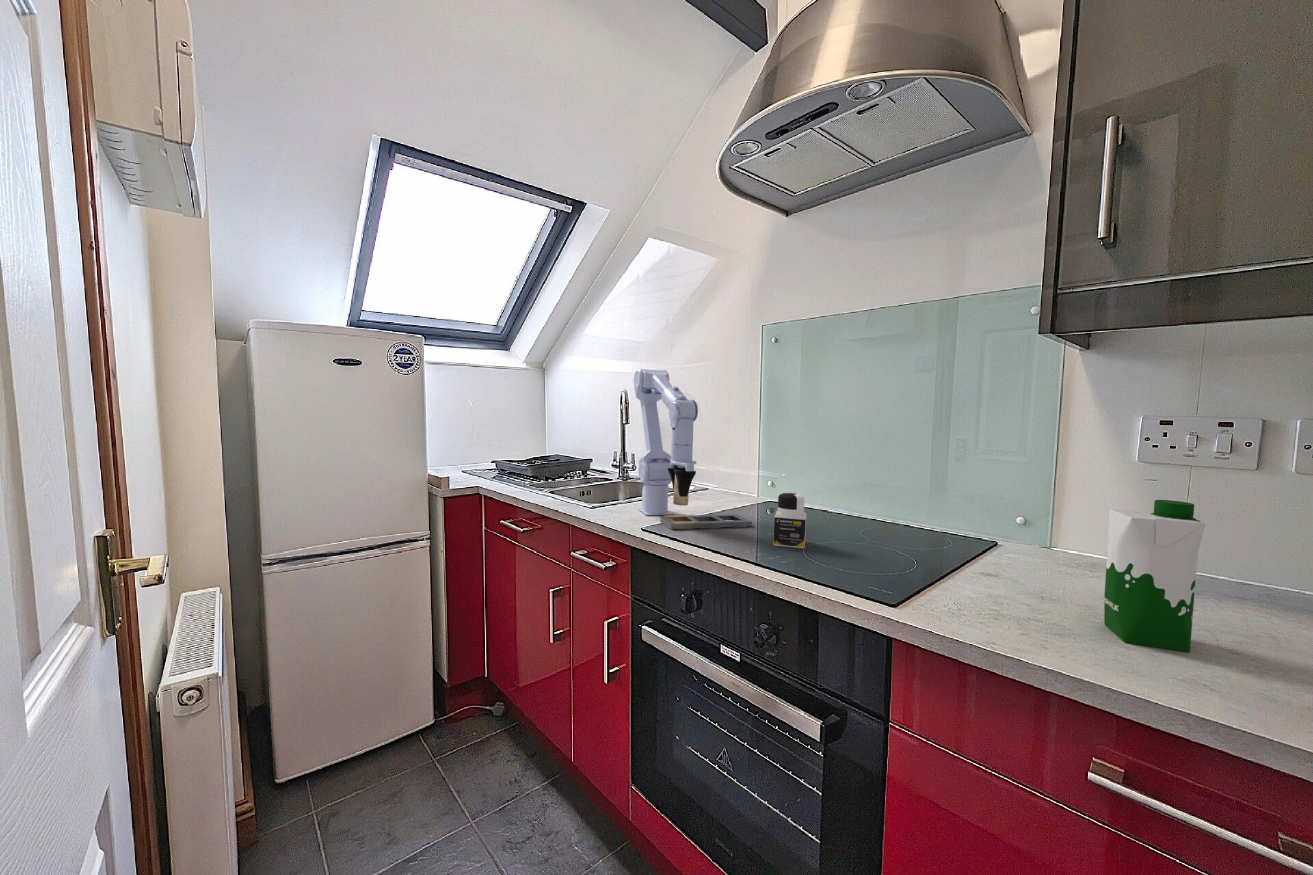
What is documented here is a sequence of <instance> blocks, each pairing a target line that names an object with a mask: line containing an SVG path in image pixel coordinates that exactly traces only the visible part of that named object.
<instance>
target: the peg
mask: <svg viewBox="0 0 1313 875" xmlns="http://www.w3.org/2000/svg"><path fill="white" fill-rule="evenodd" d="M689 496H690V491H689V492H688V496H687V497H680V496H679V492H678V482H677V478H676V475H675V484H674V491H673V500H672V501H673V503H672V504H673V505H675V506H688V505H689Z"/></svg>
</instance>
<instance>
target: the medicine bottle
mask: <svg viewBox="0 0 1313 875" xmlns="http://www.w3.org/2000/svg"><path fill="white" fill-rule="evenodd" d="M773 518H774V519H773V538H772V545H773V546H775V547H786V548H794V549H795V548H798V549H805V548H806V528H807V513H806V512H805V496H804V495H803V494H800V493H794V492H783V493H780V494H779V495H778V497H777V510H776V511H775V513H774V515H773Z"/></svg>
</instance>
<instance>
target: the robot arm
mask: <svg viewBox="0 0 1313 875" xmlns="http://www.w3.org/2000/svg"><path fill="white" fill-rule="evenodd" d="M633 388H634V394H635V398H636V399H637V400H638V401H639V402H640V408H641V416H642V423H643V424H642V425H643V430H644V431H643V432H644V441H645V447H646V448H645V450H646V452H645V453H644V454H643V455H642V456H641V457H639V460H638V477H639V479H640V481H641V482H642V483H643V484H644V485H643V487H642V489H641V490H642V491H641V492H642V493H641V507H639V508H638V510H639V511H640V512H641V513H642V514H643V515H645V516H667V515H673V513H672V512H671V511H670V510H668V509H669V508H668V507H669V485H671V484H672V489H673V490H672V491H673V492H674V484H675V475H676V478H677V482H678V492H679V496H680V497H687V496H688V492H689V493H690V489H691V488H690V487H691V484H692V482H693V479H694V477H695V476H696V473H697V471H696V470H695V465H697V461H696V460H693V452H694V451H693V449H694V448H693V445H694V423H695V421H696V420H697V418H698V415H699V406H698V403H697V402H696V400H695V399H688V398H687V397H686V395H684V393H683V392H682V391H681V390H680V388H679V386H673V385H672V384H671V383H670V373H669V372H668V370H666V369H662V370H660V369H659V370H658V369H647V368H645V369H643V368H637V369H636V371H635V372H634V377H633ZM660 400H661V401H662V402H663V404H664V405H665V406H666V408H667V409H668V417H669V421H670V422H669V426H670V428H671V454H669V453H667V452H666V451H665V450H664V447H663V441H662V440H663V439H662V434H661V432H662V431H661V426H660V418H659V411H658V402H659V401H660Z"/></svg>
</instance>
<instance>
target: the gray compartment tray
mask: <svg viewBox="0 0 1313 875" xmlns="http://www.w3.org/2000/svg"><path fill="white" fill-rule="evenodd" d="M659 516H660V518H659V519H660V523H661V524H662V525H664V526H665V527H667V528H668V529H669V528H670V529H669V530H671V529H683V530H691V529H690V528H710V529H721V528H720V527H738V528H745V527H744V526H752V527H753V521H752V520H750V519H748V518H746V517H743V516H741V515H739V514H737V513H735V514H733V513H730V514H727V513H726V514H702V515H701V514H700V515H699V514H698V515H693V514H692V515H685V514H676V515H675V514H672V515H659ZM725 520H733V521H725Z"/></svg>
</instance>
